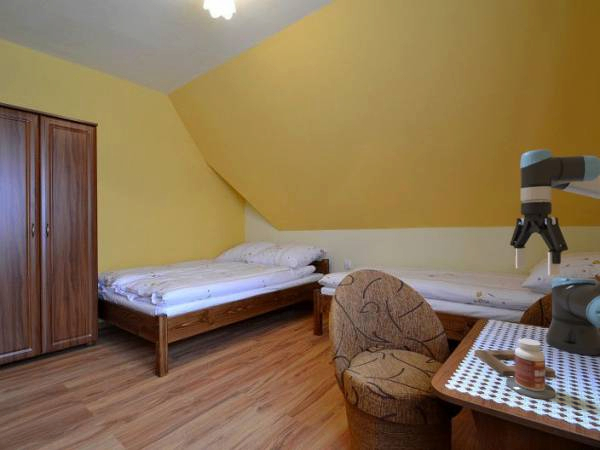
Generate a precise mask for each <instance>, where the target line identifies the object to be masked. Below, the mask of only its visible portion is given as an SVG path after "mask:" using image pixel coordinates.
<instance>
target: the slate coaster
mask: <svg viewBox="0 0 600 450" xmlns="http://www.w3.org/2000/svg"><path fill="white" fill-rule="evenodd" d="M505 383H506V386H507V387H508V388H509V389H510V390H512V391H513V390H514V391H513V392H515V393H517V394H519V395H522V396H525V397H527V398H531V399H537V400H553V399H554V398H556V396H557V393H556V390H555V389H554V388H553V387H552V386H551V385H549V384H548V383H546V382H545V389H544V390H543V391H532V390H528V389H525V388H522V387H520V386H519V385H518V384H517V383H516V382H515V376H513V377H507V378H506V379H505Z"/></svg>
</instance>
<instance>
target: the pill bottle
mask: <svg viewBox="0 0 600 450" xmlns="http://www.w3.org/2000/svg"><path fill="white" fill-rule="evenodd" d="M517 346H518V347H516V348H515V359H514V366H515V382H516V383H517V384H518V385H519V386H520V387H522V388H525V389H528V390H532V391H543V390H544V389H545V383H546V377H545V366H546V357H545V354H544V353H543V351H542V344H541V342H539V341H537V340H535V339H531V338H519V339H518V340H517Z"/></svg>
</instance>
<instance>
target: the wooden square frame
mask: <svg viewBox="0 0 600 450" xmlns="http://www.w3.org/2000/svg"><path fill="white" fill-rule="evenodd" d="M515 350H516V349H515ZM515 350H514V349H512V350H511V349H506V350H505V349H500V350H498V349H484V350H483V349H482V350H481V349H475V350H474V355H475V357H477V359H480V360H481V361H482V362H483V363H484V364H486V365H487V366H488V367H490V368H491V369H492V370H493V371H495V372H496V373H497V374H499V375H500V376H501V377H503V378H505V376H506V377H507V376H515V365H507V364H506V363H504V362H502V361H501V360H515ZM555 377H556V370H554V369H552V368H551V367H548V366H547V365H545V378H555ZM507 378H508V377H507Z"/></svg>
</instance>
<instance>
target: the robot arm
mask: <svg viewBox="0 0 600 450" xmlns="http://www.w3.org/2000/svg"><path fill="white" fill-rule="evenodd" d="M519 169H520V201H521V204H520V214H521V215H522V216H524V217H517V218H516V224H515V228H514V230H513V234H512V236H511V239H510V243H509V245H510V246H511V247H513V248H514V252H515V253H514V256H515V269H518V270H520V269H521V270H522V269H524V270H525V269H526V267H527V263H526V261H527V260H526V251H527V250H526V249H527V248H526V246H525V245H526V244H527V243H528V241H529V239H530V237H532V234H535V233H536V234H539V235H540V237H541V238H542V239H543V241H544V243H545V245H546V246H547V248H548V249H549V250H548V251H547V276H560V275H561V269H560V267H561V263H562V256H561V255H562V254H561V253H563V252H564V251H568V250H569V247H568V244H567V242H566V240H565V237H564V235H563V232H562V229H561V228H560V225H559V218H558V217H557V216H556V217H555V216H554V217H553V216H552V217H551V216H549V215H551V214H552V213H553V211H552V206H553V205H552V203H551V202H550V201H551V200H552V189H553V190H554V189H555V190H557V191H558V190H559V191H564V192H568V193H573V194H576V195H581V196H584V197H590V198H593V199H598V200H600V158H599V157H598V156H595V155H583V154H582V155H575V156H574V155H573V156H572V155H570V156H553V154H552V151H551V150H550V149H534V150H529V151H526V152H524V153H523V154H522V155H521V157H520V167H519ZM550 288H551V308H552V309H551V310H552V311H551V315H552V317H551V323H550V325H549V327H548V330H547V332H546V334H545V342H546V343H547V344H548V345H549V346H552V347H554V348H557V350H558V349H559V350H562V351H564V352H565V351H566V352H569V353H573V354H578V355H586V356H600V280H599V281H598V279H595V278H584V277H583V278H582V277H581V278H580V277H555V278H553V279H552V283H551V287H550Z"/></svg>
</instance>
